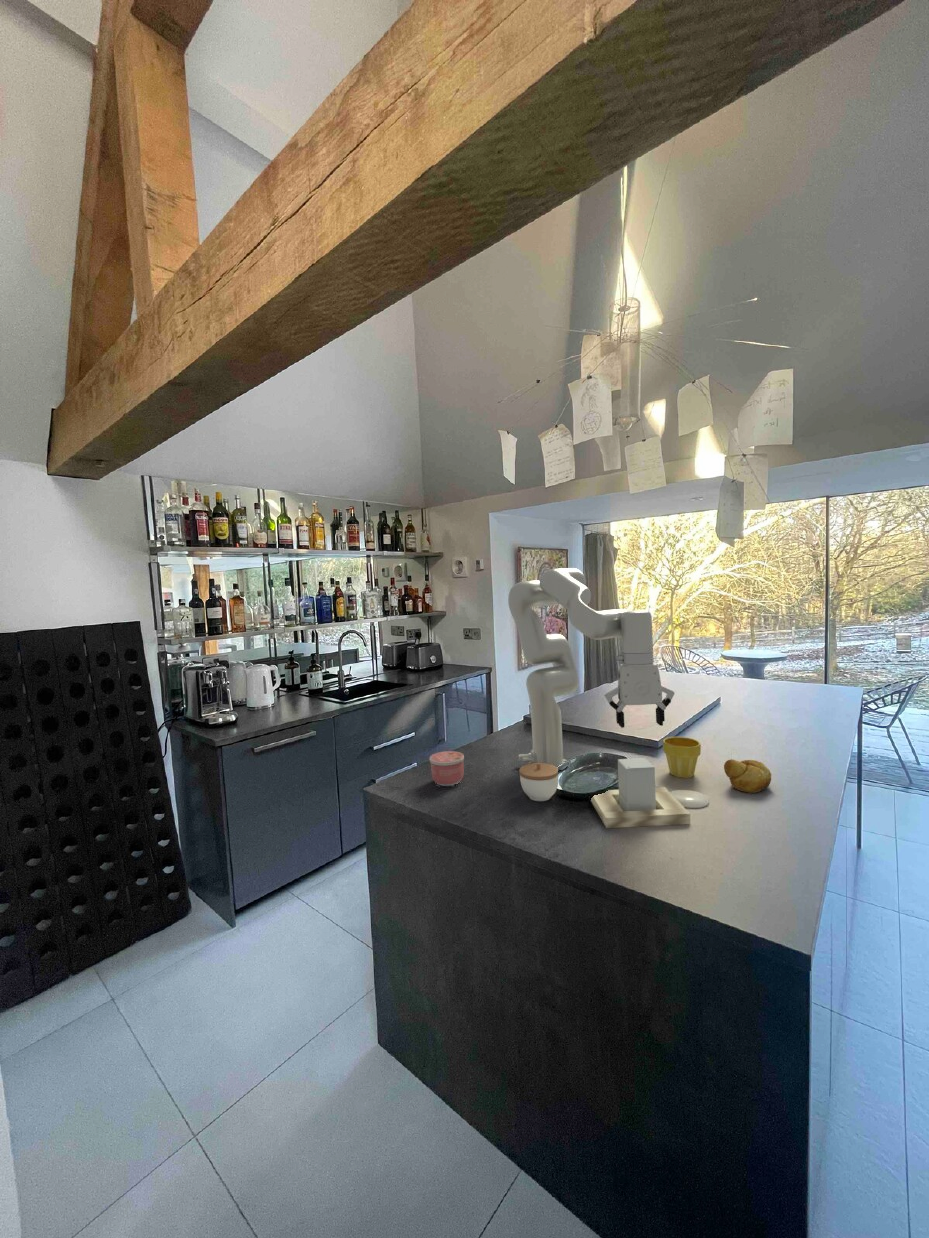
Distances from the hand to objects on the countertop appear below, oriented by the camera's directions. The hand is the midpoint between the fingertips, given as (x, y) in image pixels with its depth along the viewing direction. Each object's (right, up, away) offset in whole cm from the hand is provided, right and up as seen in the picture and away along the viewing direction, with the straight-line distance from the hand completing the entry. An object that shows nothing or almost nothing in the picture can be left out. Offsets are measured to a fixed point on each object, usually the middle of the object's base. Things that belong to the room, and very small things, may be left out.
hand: (640, 725), depth 132 cm
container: (-50, -23, +25) cm, 61 cm away
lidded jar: (-24, -22, +11) cm, 35 cm away
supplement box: (-1, -22, -1) cm, 22 cm away
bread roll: (+34, -19, +10) cm, 40 cm away
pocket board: (-1, -22, -1) cm, 22 cm away
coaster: (+14, -20, +4) cm, 25 cm away
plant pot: (+20, -19, +22) cm, 35 cm away
